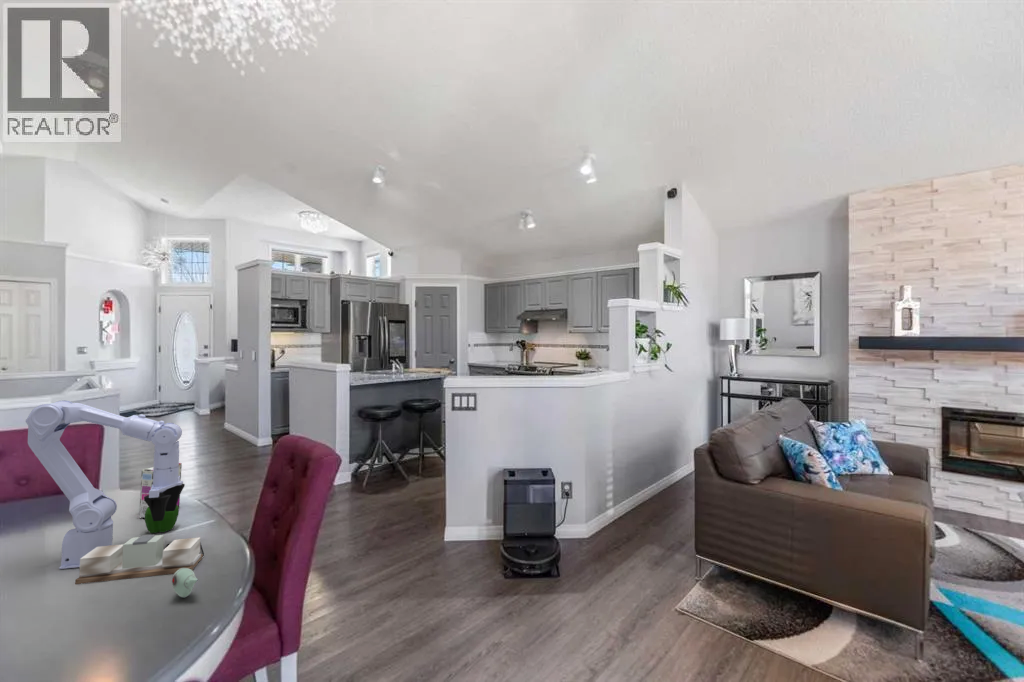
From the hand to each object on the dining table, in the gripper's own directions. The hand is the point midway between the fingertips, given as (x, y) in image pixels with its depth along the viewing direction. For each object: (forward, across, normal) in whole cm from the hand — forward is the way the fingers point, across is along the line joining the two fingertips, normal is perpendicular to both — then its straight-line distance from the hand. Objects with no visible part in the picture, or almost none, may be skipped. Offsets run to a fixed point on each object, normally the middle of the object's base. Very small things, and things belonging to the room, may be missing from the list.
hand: (164, 515), depth 127 cm
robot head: (+10, -29, -15) cm, 34 cm away
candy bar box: (+10, +34, +14) cm, 38 cm away
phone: (+10, -2, -6) cm, 12 cm away
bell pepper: (+10, +17, +7) cm, 21 cm away
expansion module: (+8, -12, 0) cm, 14 cm away
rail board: (+10, -12, 0) cm, 15 cm away
